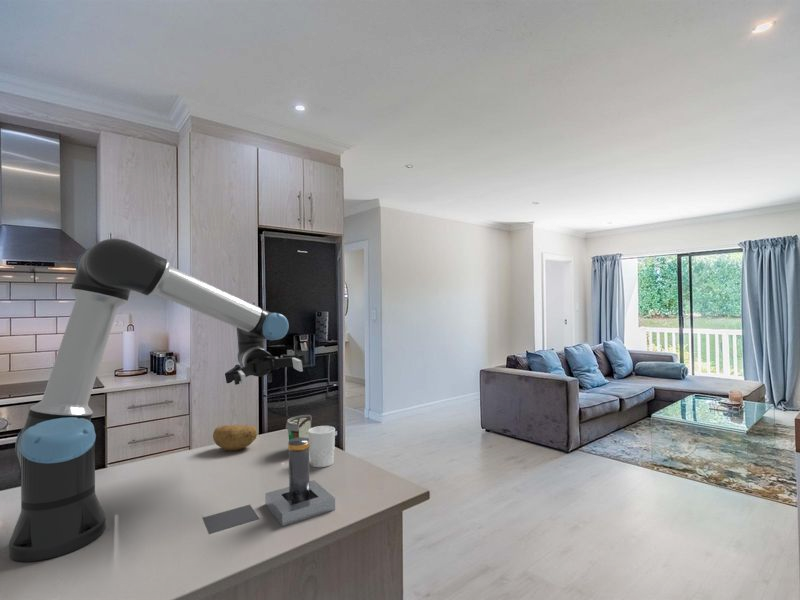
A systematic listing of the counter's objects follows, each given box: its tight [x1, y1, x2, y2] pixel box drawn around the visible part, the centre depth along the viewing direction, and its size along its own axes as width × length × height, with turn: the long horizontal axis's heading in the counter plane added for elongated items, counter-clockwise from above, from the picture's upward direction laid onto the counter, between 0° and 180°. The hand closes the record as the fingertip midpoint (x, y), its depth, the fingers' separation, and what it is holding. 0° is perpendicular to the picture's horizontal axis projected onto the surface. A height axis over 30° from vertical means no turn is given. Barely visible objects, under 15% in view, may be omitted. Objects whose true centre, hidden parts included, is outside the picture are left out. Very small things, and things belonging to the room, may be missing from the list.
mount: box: [202, 504, 260, 535], centre depth 90 cm, size 10×8×1 cm
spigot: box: [287, 437, 310, 505], centre depth 94 cm, size 5×5×16 cm
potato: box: [212, 424, 258, 452], centre depth 137 cm, size 10×14×8 cm
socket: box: [264, 479, 336, 527], centre depth 94 cm, size 12×12×4 cm
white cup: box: [308, 425, 336, 468], centre depth 123 cm, size 8×8×10 cm
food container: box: [285, 414, 313, 441], centre depth 135 cm, size 12×6×10 cm, turn 172°
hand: (273, 373), depth 101 cm, fingers open, 13 cm apart
